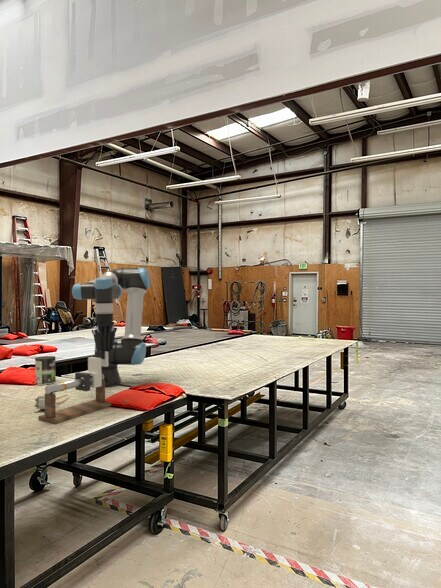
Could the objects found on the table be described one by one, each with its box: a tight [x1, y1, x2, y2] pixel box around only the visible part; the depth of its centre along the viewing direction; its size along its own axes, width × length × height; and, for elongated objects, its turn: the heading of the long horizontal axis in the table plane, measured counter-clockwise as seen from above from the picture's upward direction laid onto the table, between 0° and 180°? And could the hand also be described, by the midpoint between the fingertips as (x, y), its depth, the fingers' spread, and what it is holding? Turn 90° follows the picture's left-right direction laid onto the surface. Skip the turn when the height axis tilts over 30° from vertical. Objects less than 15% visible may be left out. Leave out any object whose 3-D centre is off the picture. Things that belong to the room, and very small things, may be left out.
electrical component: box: [34, 394, 71, 410], centre depth 177 cm, size 24×6×5 cm, turn 179°
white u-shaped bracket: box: [83, 356, 102, 389], centre depth 172 cm, size 4×6×12 cm, turn 59°
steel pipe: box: [44, 374, 104, 394], centre depth 164 cm, size 27×3×3 cm, turn 149°
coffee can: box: [34, 355, 57, 386], centre depth 219 cm, size 10×10×14 cm
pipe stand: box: [38, 380, 112, 425], centre depth 164 cm, size 28×10×10 cm, turn 149°
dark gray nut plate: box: [74, 371, 91, 393], centre depth 167 cm, size 2×7×7 cm, turn 59°
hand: (105, 366), depth 177 cm, fingers closed
